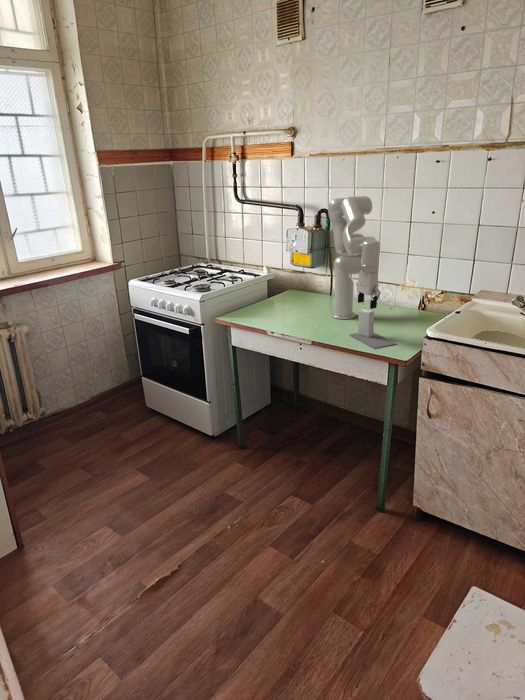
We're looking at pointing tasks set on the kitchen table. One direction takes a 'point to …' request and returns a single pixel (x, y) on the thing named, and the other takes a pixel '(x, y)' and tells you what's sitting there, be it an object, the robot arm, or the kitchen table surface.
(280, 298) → the kitchen table surface
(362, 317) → the skincare box
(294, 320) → the kitchen table surface
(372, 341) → the mat
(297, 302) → the kitchen table surface
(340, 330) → the kitchen table surface
